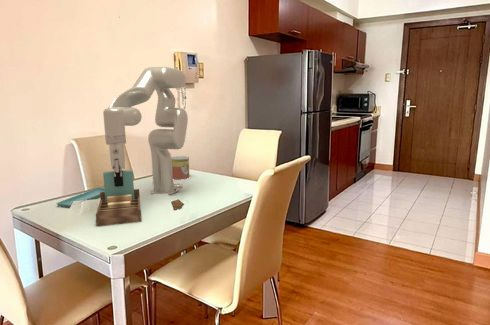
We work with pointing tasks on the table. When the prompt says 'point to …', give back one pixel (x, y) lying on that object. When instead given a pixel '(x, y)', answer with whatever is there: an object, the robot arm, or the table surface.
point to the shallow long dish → (82, 197)
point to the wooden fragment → (177, 204)
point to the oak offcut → (119, 198)
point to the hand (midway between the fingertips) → (119, 184)
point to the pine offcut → (119, 204)
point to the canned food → (180, 167)
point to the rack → (118, 212)
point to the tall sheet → (121, 190)
